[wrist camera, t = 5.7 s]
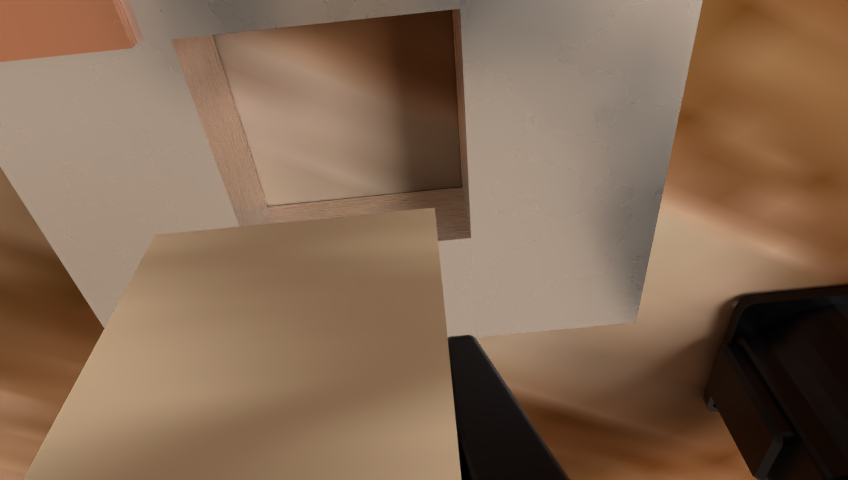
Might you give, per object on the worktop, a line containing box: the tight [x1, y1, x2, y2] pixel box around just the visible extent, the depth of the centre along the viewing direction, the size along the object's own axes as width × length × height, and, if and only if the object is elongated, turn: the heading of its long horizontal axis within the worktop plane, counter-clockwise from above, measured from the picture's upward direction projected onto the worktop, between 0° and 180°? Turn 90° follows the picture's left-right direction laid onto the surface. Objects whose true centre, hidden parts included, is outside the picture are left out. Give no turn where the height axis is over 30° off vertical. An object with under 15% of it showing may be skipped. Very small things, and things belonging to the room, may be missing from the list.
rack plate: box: [0, 0, 703, 338], centre depth 14 cm, size 16×14×3 cm
